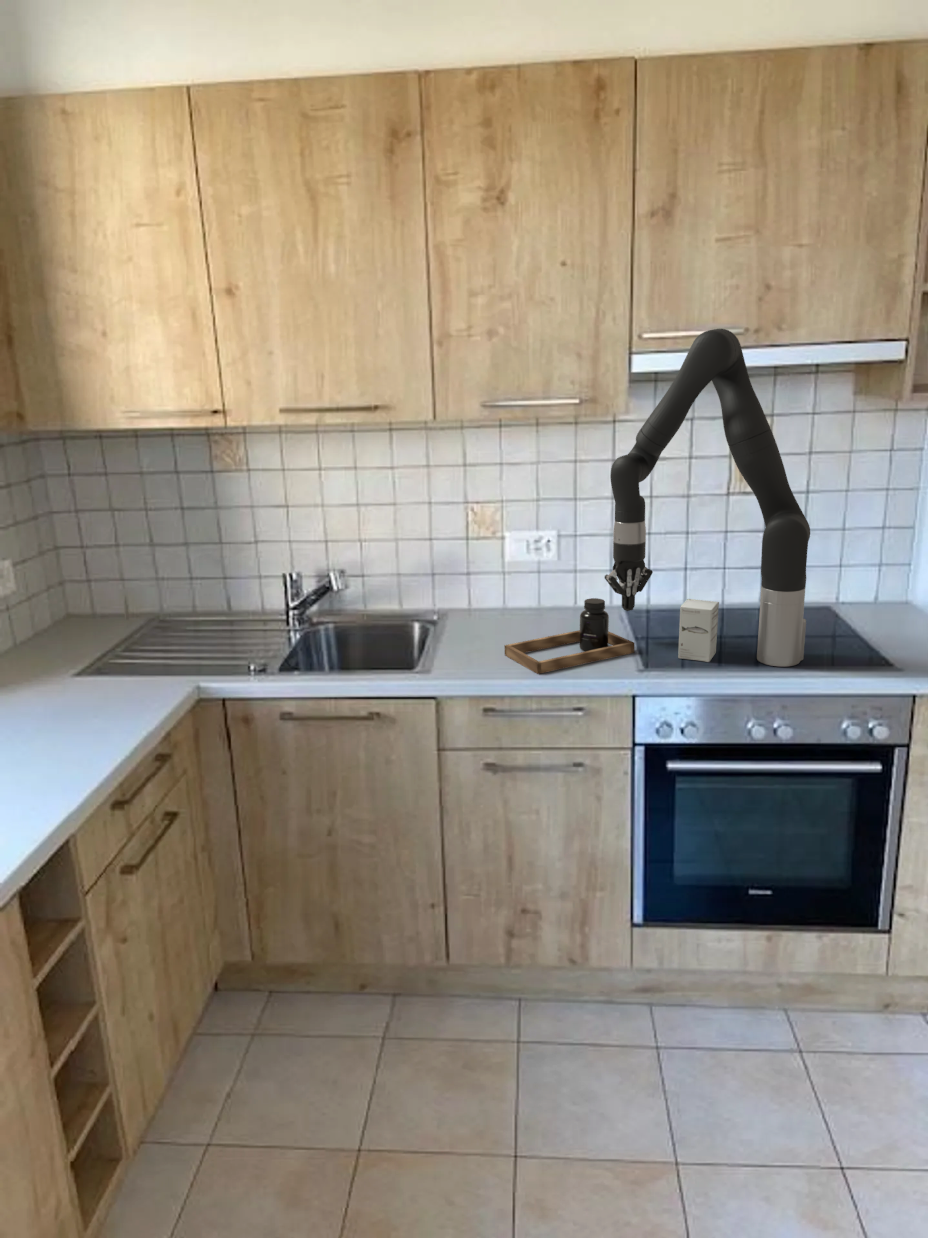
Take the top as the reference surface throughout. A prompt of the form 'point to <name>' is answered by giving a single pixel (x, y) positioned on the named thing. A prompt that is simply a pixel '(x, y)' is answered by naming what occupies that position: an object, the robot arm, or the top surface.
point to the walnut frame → (518, 650)
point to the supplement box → (698, 630)
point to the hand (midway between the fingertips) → (628, 609)
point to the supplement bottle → (593, 625)
